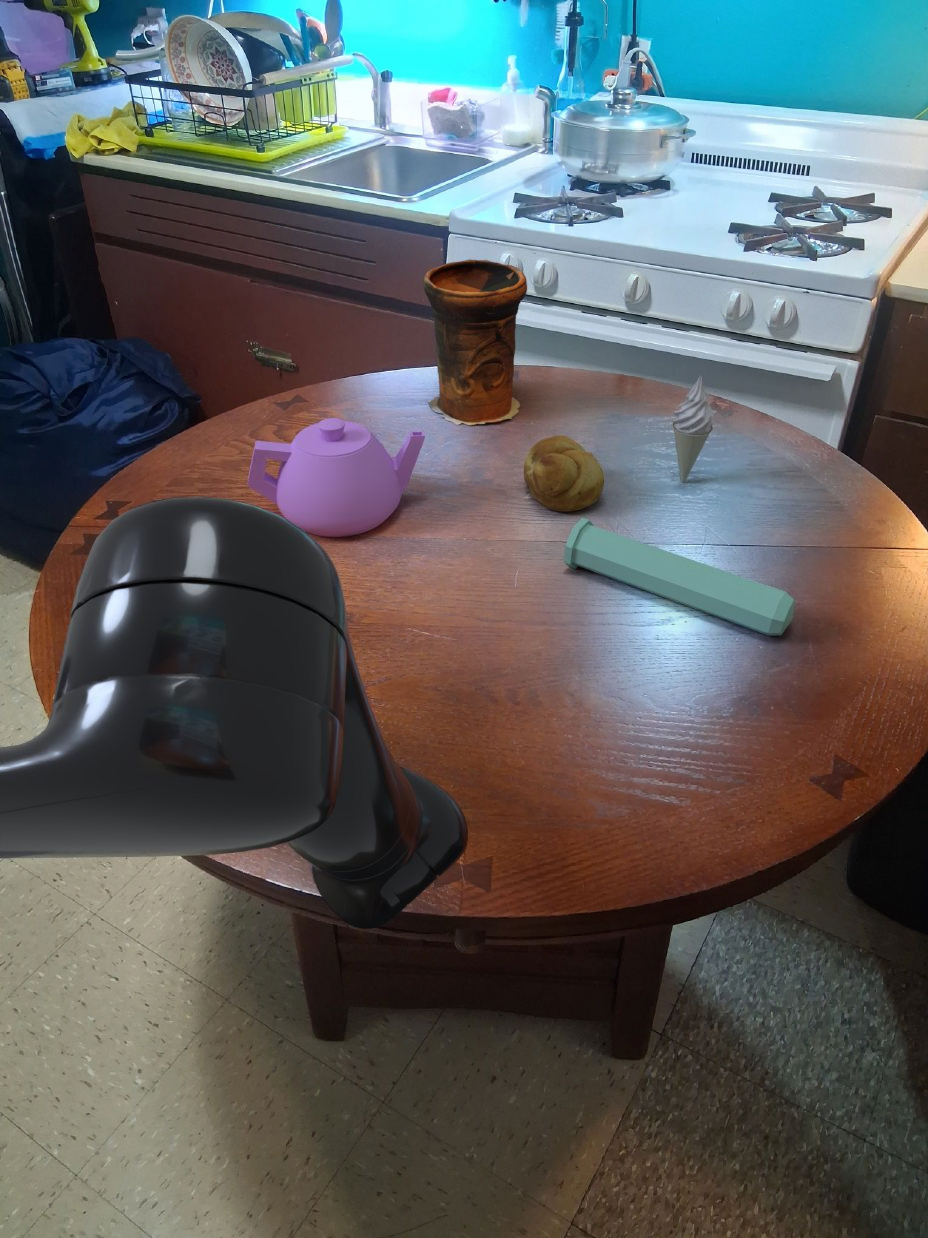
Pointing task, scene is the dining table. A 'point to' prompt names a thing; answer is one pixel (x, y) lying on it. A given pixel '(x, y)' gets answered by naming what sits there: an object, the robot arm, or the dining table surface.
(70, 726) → the robot arm
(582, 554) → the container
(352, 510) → the teapot
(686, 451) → the ice cream cone
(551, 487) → the bread roll
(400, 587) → the dining table surface
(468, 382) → the vessel
